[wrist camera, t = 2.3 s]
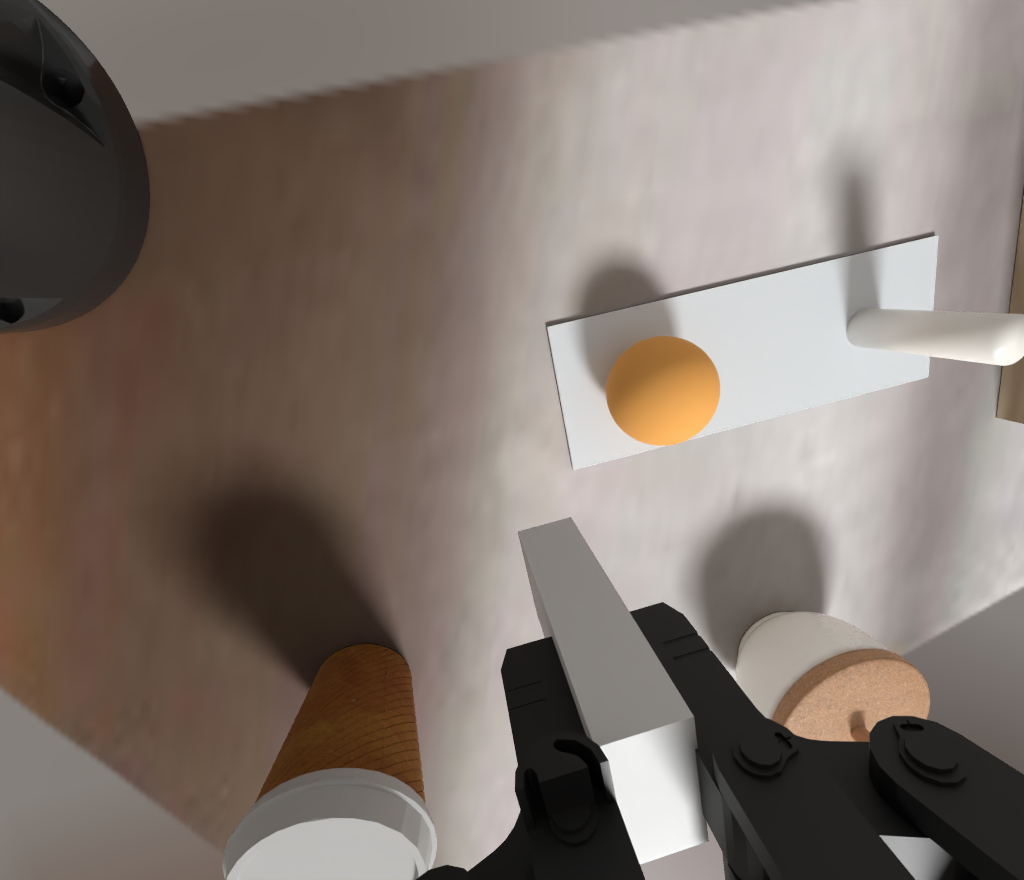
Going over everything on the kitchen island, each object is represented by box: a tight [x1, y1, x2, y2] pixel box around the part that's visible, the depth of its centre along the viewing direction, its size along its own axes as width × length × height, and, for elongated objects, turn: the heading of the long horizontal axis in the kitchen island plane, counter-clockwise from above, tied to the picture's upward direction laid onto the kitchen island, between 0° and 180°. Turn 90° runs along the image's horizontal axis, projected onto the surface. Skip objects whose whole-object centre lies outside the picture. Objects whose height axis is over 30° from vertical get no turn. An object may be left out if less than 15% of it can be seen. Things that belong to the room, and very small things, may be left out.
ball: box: [606, 336, 720, 446], centre depth 27 cm, size 6×6×6 cm
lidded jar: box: [736, 612, 930, 742], centre depth 33 cm, size 11×11×9 cm
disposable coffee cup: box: [222, 644, 437, 880], centre depth 27 cm, size 10×10×12 cm
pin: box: [846, 308, 1024, 366], centre depth 27 cm, size 2×2×8 cm
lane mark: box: [547, 235, 939, 470], centre depth 30 cm, size 25×9×1 cm, turn 102°
